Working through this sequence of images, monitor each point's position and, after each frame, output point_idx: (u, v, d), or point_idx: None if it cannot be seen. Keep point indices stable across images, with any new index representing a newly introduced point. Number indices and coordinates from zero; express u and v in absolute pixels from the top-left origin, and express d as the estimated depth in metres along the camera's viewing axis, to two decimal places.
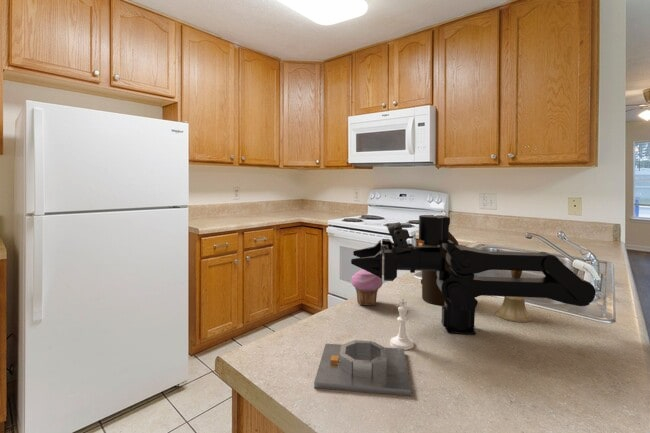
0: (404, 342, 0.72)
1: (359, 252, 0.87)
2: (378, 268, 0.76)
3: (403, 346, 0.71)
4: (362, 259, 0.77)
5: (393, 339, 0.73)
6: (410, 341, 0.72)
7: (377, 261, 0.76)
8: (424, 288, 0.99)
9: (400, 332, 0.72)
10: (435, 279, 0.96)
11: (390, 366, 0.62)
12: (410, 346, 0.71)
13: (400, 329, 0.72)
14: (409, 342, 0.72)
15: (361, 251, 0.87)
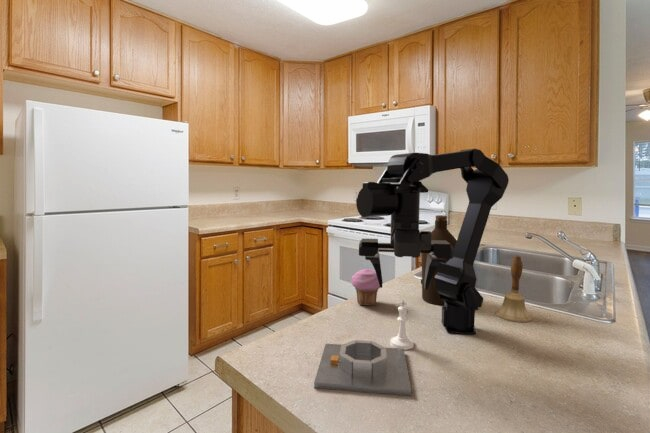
0: (404, 342, 0.72)
1: None
2: None
3: (403, 346, 0.71)
4: (430, 277, 0.70)
5: (393, 339, 0.73)
6: (410, 341, 0.72)
7: None
8: (424, 288, 0.99)
9: (400, 332, 0.72)
10: (435, 279, 0.96)
11: (390, 366, 0.62)
12: (410, 346, 0.71)
13: (400, 329, 0.72)
14: (409, 342, 0.72)
15: (381, 278, 0.72)
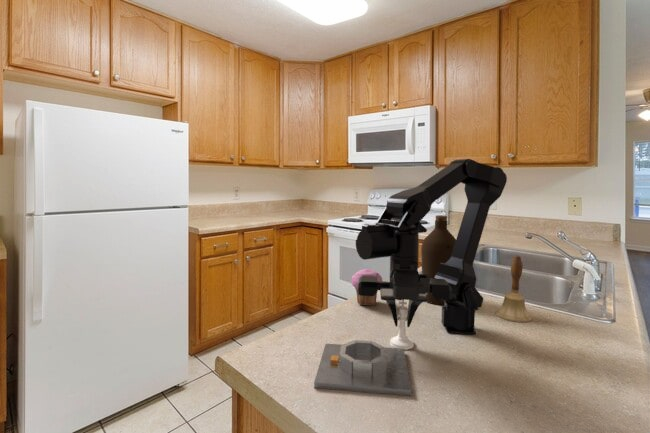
0: (404, 342, 0.72)
1: (397, 319, 0.73)
2: None
3: (403, 346, 0.71)
4: (412, 316, 0.71)
5: (393, 339, 0.73)
6: (410, 341, 0.72)
7: None
8: None
9: (400, 332, 0.72)
10: None
11: (390, 366, 0.62)
12: (410, 346, 0.71)
13: (400, 329, 0.72)
14: (409, 342, 0.72)
15: None
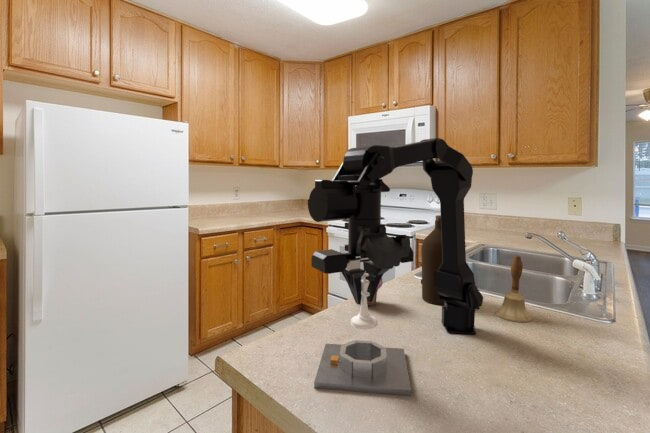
0: (369, 320, 0.62)
1: None
2: None
3: (372, 324, 0.61)
4: None
5: (355, 320, 0.62)
6: (373, 317, 0.63)
7: None
8: (424, 288, 0.99)
9: (363, 310, 0.62)
10: None
11: (390, 366, 0.62)
12: (376, 322, 0.62)
13: (363, 306, 0.62)
14: (373, 318, 0.62)
15: None
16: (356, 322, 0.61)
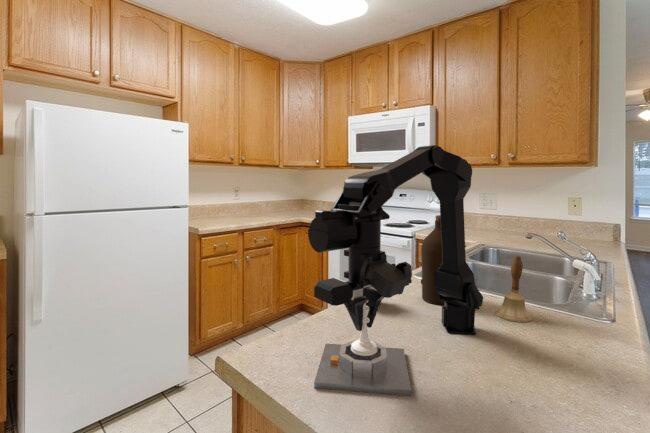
0: (370, 345, 0.62)
1: None
2: None
3: (373, 350, 0.61)
4: None
5: (356, 347, 0.62)
6: (372, 342, 0.64)
7: None
8: (424, 288, 0.99)
9: (364, 336, 0.62)
10: None
11: (390, 366, 0.62)
12: (376, 347, 0.63)
13: (364, 332, 0.62)
14: (373, 343, 0.63)
15: None
16: (358, 349, 0.62)
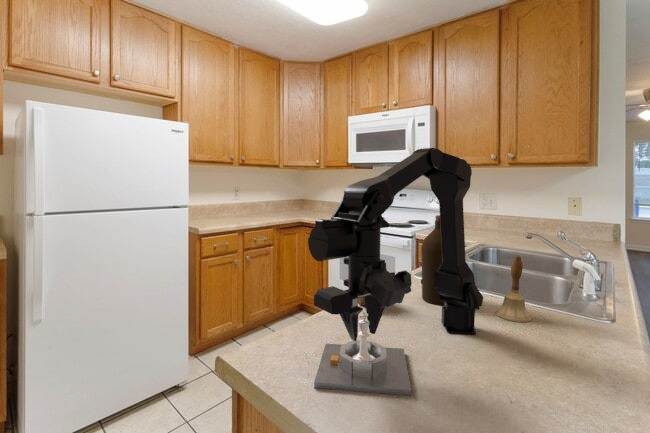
0: (370, 359, 0.63)
1: None
2: None
3: None
4: None
5: None
6: (372, 356, 0.64)
7: None
8: (424, 288, 0.99)
9: (364, 350, 0.63)
10: None
11: (390, 366, 0.62)
12: None
13: (363, 346, 0.63)
14: (373, 357, 0.64)
15: None
16: None
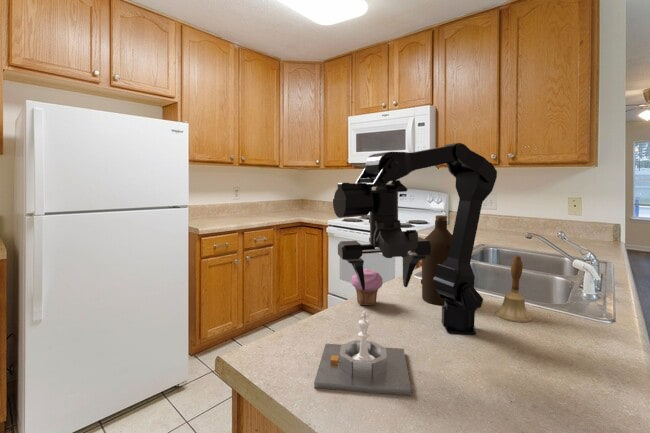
0: (370, 360, 0.63)
1: None
2: None
3: None
4: None
5: None
6: (372, 356, 0.64)
7: None
8: (424, 288, 0.99)
9: (364, 350, 0.63)
10: None
11: (390, 366, 0.62)
12: None
13: (363, 347, 0.63)
14: (373, 358, 0.64)
15: None
16: None
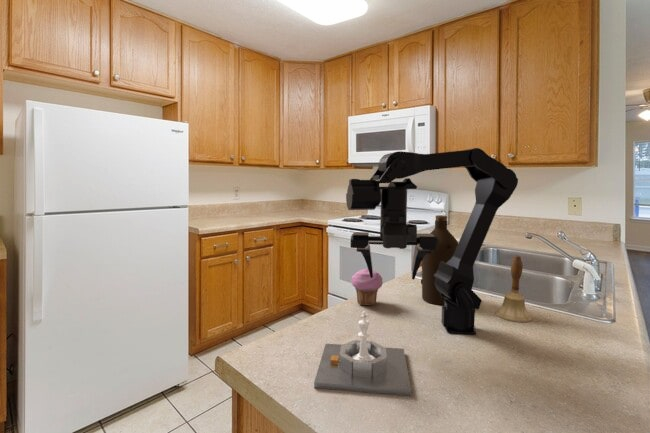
0: (370, 360, 0.63)
1: (372, 271, 0.77)
2: None
3: None
4: (417, 268, 0.75)
5: None
6: (372, 356, 0.64)
7: None
8: (424, 288, 0.99)
9: (364, 350, 0.63)
10: None
11: (390, 366, 0.62)
12: None
13: (363, 347, 0.63)
14: (373, 358, 0.64)
15: (372, 269, 0.77)
16: None
